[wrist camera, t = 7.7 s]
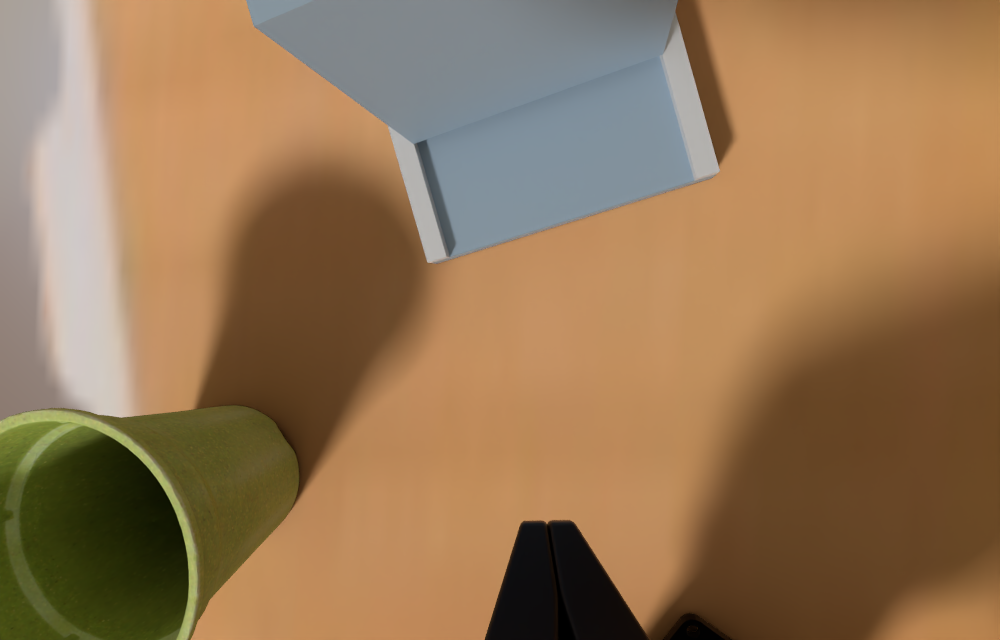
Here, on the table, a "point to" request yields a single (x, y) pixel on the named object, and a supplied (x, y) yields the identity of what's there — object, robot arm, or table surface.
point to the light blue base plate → (560, 157)
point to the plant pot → (132, 517)
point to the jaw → (461, 51)
